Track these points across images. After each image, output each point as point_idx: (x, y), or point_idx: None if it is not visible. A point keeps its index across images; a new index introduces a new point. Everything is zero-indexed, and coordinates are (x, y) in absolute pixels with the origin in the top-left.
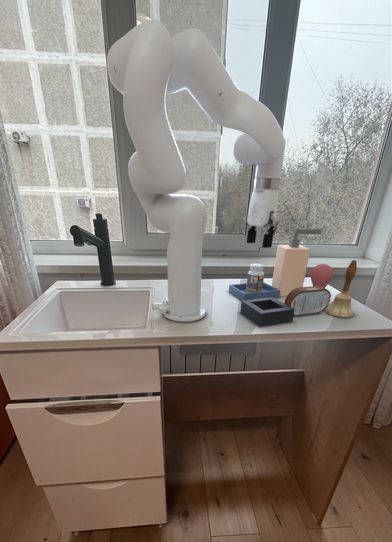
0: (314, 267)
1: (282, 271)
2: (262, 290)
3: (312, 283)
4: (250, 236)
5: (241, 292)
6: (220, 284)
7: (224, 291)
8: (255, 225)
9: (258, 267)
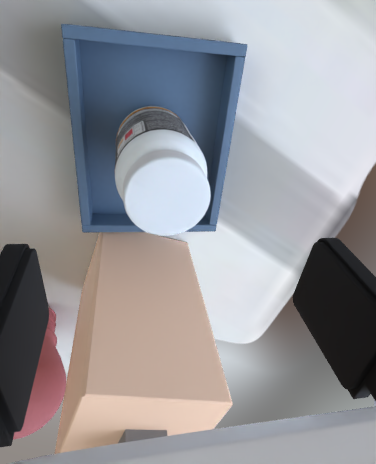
0: (33, 398)
1: (95, 289)
2: None
3: None
4: (342, 299)
5: (100, 28)
6: (347, 72)
7: (249, 21)
8: (207, 440)
9: (125, 183)
